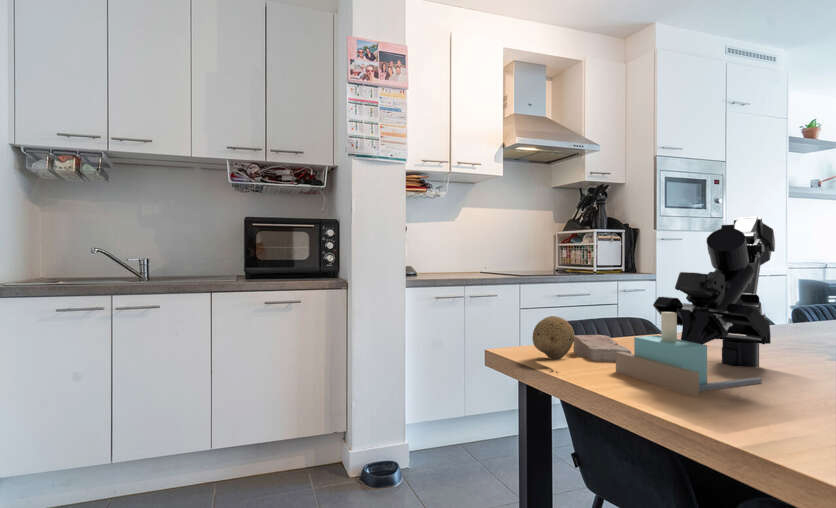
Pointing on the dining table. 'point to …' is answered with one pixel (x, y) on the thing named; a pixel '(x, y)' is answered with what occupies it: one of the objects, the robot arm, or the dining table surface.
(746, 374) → the dining table surface
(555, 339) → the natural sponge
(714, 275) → the robot arm
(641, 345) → the dowel block
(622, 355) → the track
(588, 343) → the brick
